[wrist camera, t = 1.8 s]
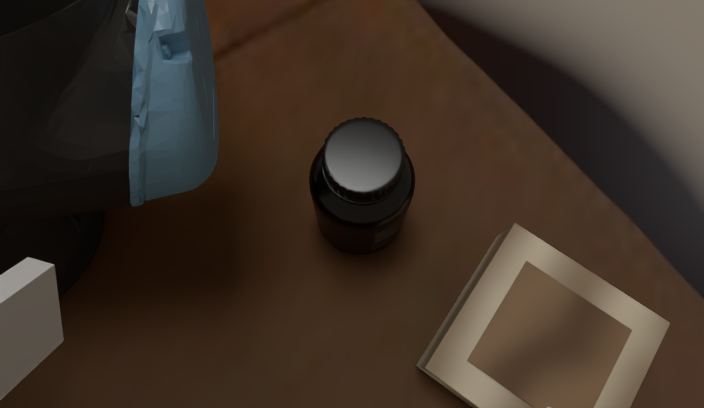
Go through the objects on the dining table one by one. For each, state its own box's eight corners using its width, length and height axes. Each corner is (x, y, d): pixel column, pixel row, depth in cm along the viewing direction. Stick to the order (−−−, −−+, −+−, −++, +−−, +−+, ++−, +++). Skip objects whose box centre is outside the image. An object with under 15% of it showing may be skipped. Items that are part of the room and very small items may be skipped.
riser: (415, 365, 33) (425, 368, 29) (496, 236, 37) (515, 222, 33) (561, 472, 32) (592, 490, 28) (634, 325, 35) (672, 322, 31)
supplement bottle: (394, 171, 38) (415, 94, 27) (407, 250, 36) (437, 205, 25) (312, 180, 38) (298, 107, 26) (321, 261, 36) (310, 220, 24)
